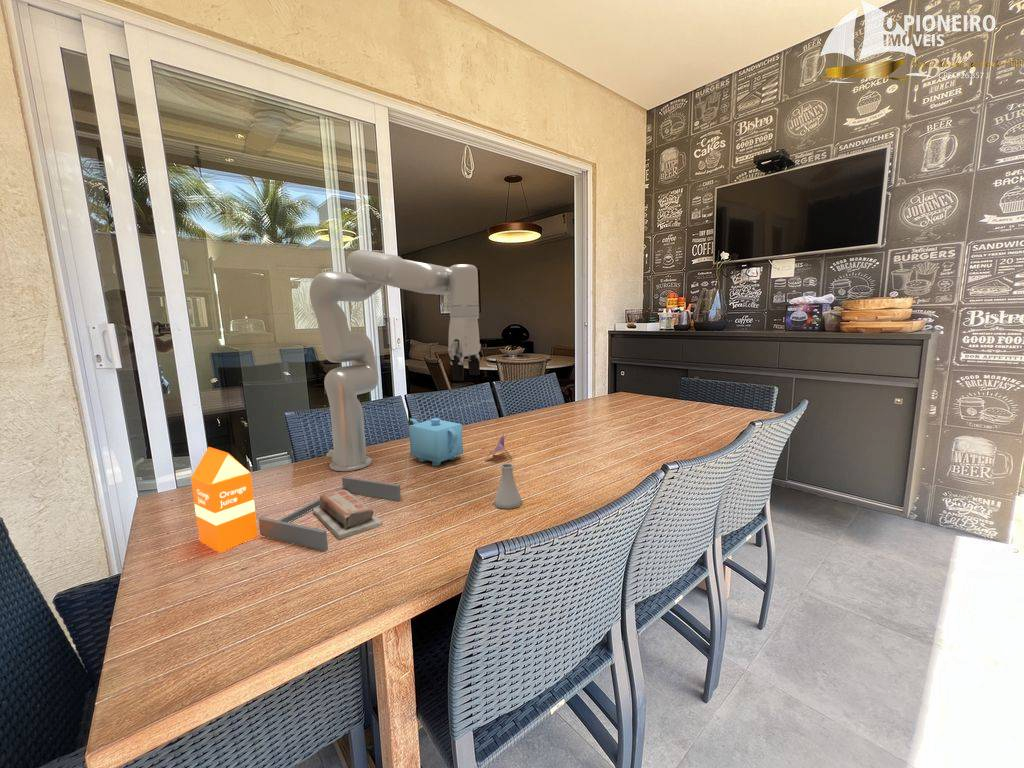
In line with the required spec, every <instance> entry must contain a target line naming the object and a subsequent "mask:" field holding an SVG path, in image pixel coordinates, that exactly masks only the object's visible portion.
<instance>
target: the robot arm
mask: <svg viewBox="0 0 1024 768" xmlns="http://www.w3.org/2000/svg"><path fill="white" fill-rule="evenodd" d="M346 268H347V270H348V271H349V272H348V273H346V272H340V271H324V272H320V273H318V274H317V275H316V276H315V277H314V278H313V279H312V281H311V283H310V286H309V299H310V303H311V307H312V310H313V312H314V315H315V318H316V321H317V326H318V331H319V337H320V341H321V347H322V352H323V354H324V357H325V359H326V360H327V361H328V362H330V363H335V364H336V363H347V362H350V365H345V366H344V365H343V366H339V367H336V368H333V369H330V370H329V371H328V372H327V373H326V375H325V376H324V380H323V383H324V389H325V392H326V396H327V400H328V403H329V404H328V405H329V411H330V421H331V434H332V443H333V444H332V445H333V449H329V450H328V452H327V453H326V454H325V456H326V457H327V458H331V461H330V463H329V468H330V470H332V471H336V472H351V471H355V470H356V471H357V470H360V469H364V468H367V467H368V466H370V465H371V464H372V462H373V461H372V457H370V456H369V455H367V449H366V446H367V445H366V436H365V435H366V434H365V432H366V431H365V420H364V409H363V405H362V404H361V402H360V400H359V398H358V397H357V396H358V395H362V394H366V393H369V392H372V391H374V390H375V389H376V388H377V386H378V384H379V372H378V367H377V363H376V357H375V351H374V347H373V344H372V341H371V339H370V337H369V336H368V335H367V334H366V333H364V332H362V331H359V330H351V331H350V328H349V323H348V318H347V315H346V313H345V311H344V310H343V308H342V307H341V306H340V304H339V303H338V302H352V303H354V302H355V303H356V302H358V303H359V302H364V301H366V300H368V299H369V298H371V297H372V296H373V295H374V294H375V293H377V292H378V291H379V290H380V289H381V288H383V287H384V286H389V287H393V288H396V289H402V290H406V291H411V292H415V293H420V294H425V295H428V294H429V295H440V296H446V295H447V296H448V295H449V317H450V318H449V323H448V324H449V325H448V348H447V354H448V355H449V357H448V358H449V360H450V365H451V380H452V381H465V367H464V366H465V365H464V364H463V362H464V359H465V357H467V358H468V359H469V360H468V362H467V363H468V364H467V365H468V366H467V367H468V375H469V376H480V375H481V372H480V371H481V370H480V368H481V367H480V366H481V365H480V361H481V357H480V356H481V347H482V344H481V343H480V330H479V321H478V319H480V312H479V311H480V310H479V309H480V308H479V276H478V275H479V274H478V268H477V266H475V265H474V264H468V263H464V264H463V263H460V264H459V263H458V264H453V265H451V266H448V267H447V266H443V265H437V264H433V263H425V262H421V261H420V262H419V261H415V260H410V259H406V258H405V259H403V258H402V257H401V256H399V255H395V254H390V253H383V252H380V251H379V252H378V251H374V250H369V249H357V250H354V251H352V252H350V254H349V255H348V256H347V258H346Z"/></svg>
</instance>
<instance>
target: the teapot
mask: <svg viewBox="0 0 1024 768" xmlns="http://www.w3.org/2000/svg"><path fill="white" fill-rule="evenodd" d="M409 420H410V421H411V423H412V424H409V426H408V429H409V432H408V434H409V447H410V448H409V450H410V456H412V457H415V458H418V462H420V463H423V462H426V461H430V462H432V464H431V465H432V466H433V467H434V466H435V467H436V466H437V467H438V466H441V465H442V463H441V462H444V461H448V460H449V461H454V460H456V458H457V457H458V456H460V455H463V454H464V446H463V444H464V443H463V424H462V423H457V422H454V421H448V420H443V419H441V418H438V417H433V418H431V419H428V420H425V421H422V422H419V421H418V419H416V418H409Z"/></svg>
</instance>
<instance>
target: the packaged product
mask: <svg viewBox="0 0 1024 768" xmlns="http://www.w3.org/2000/svg"><path fill="white" fill-rule="evenodd" d="M336 490H337V489H336ZM319 499H320V506H319V507H314V508H313V510H312V513H313V512H314V513H315V514H316V515H317V516H318V517H319V518H318V517H317V516H316V515H315V514H314V513H313V514H314V515H315V516H316V517H317V518H318V519H319V521H320V520H321V521H322V522H323V523H324V524H323V523H322V522H321V521H320V522H321V523H322V524H323V525H324V526H325V528H327V530H330V531H329V532H330V533H332V534H333V535H334V537H336V538H337V539H338V540H343V539H346V538H349V537H352V536H355V535H357V534H360V533H364V532H366V531H369V530H372V529H375V528H378V527H380V526H382V525H383V522H384V521H383V520H381V519H380V518H379V517H378V516H375V514H374V511H373V510H372V509H371V508H370V507H369V506H368V505H366V504H365V503H363V502H362V501H361V500H360V499H359V498H357V497H356V496H355V495H354V494H352V493H350V492H348V491H347V490H342V489H340V490H337V491H335V490H333V491H329V492H327V493H324V494H320V496H319Z"/></svg>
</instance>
